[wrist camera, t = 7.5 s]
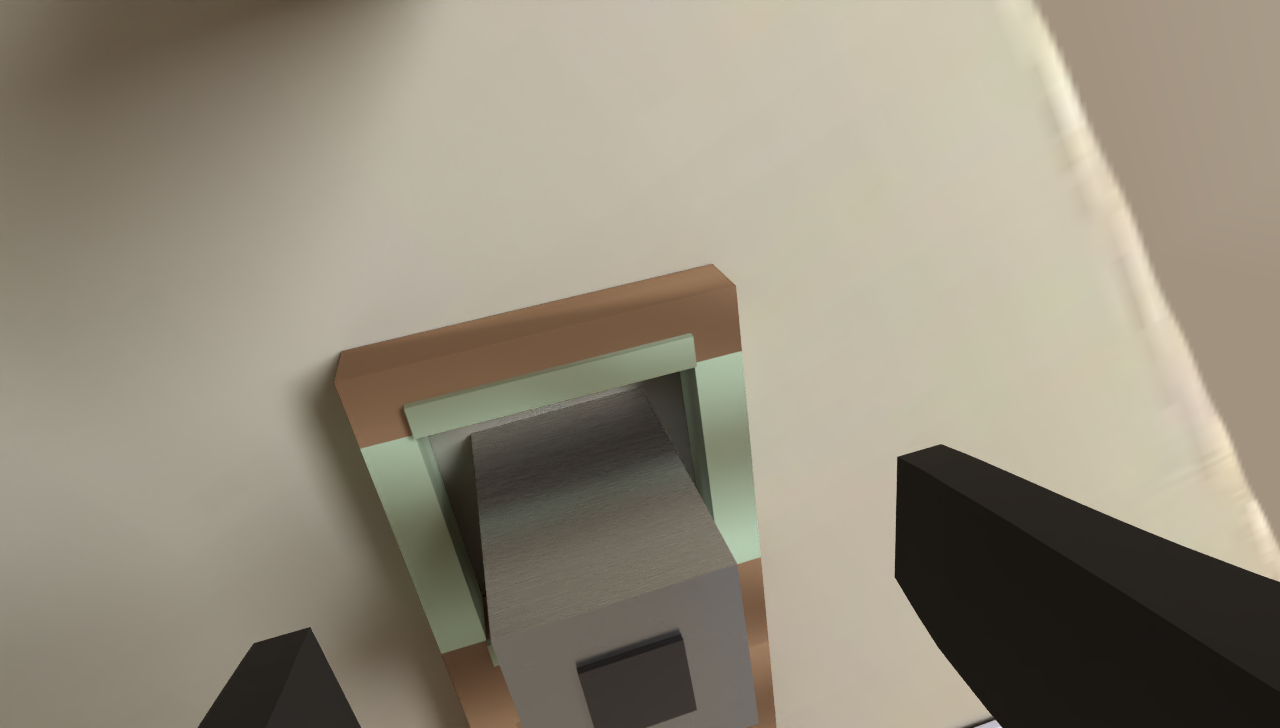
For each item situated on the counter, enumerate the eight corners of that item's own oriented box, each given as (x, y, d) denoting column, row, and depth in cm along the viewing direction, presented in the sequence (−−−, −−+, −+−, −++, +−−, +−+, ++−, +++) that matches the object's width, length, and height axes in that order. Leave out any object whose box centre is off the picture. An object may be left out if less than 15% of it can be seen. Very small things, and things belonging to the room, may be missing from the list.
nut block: (665, 518, 21) (761, 729, 15) (514, 564, 21) (550, 804, 15) (640, 386, 19) (740, 569, 13) (471, 433, 19) (491, 648, 12)
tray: (765, 762, 28) (785, 808, 26) (529, 845, 26) (536, 898, 25) (712, 263, 18) (738, 288, 17) (341, 351, 17) (332, 387, 15)
